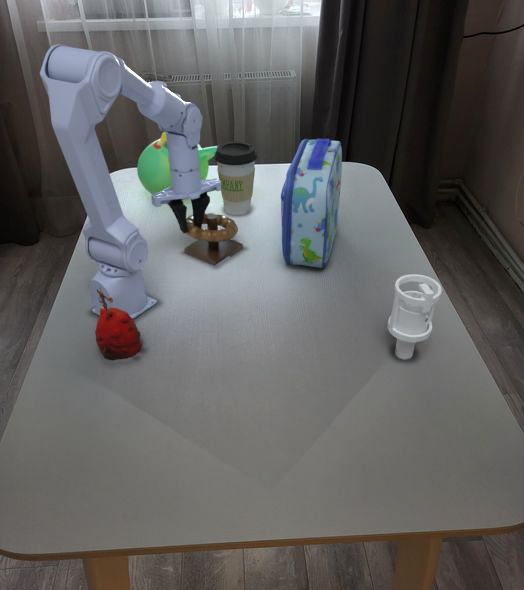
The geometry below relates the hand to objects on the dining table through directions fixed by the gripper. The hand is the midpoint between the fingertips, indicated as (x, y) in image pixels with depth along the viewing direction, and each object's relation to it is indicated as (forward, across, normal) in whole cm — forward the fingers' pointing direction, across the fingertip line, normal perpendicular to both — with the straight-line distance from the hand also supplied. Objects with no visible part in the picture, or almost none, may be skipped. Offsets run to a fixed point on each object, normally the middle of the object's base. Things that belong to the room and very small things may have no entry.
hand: (190, 229), depth 117 cm
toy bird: (+6, +9, +27) cm, 29 cm away
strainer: (+6, +16, -49) cm, 52 cm away
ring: (+1, +5, 0) cm, 5 cm away
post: (+6, +4, -2) cm, 7 cm away
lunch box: (+6, +24, -10) cm, 26 cm away
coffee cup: (+6, +18, +12) cm, 23 cm away
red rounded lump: (+6, -25, -23) cm, 35 cm away
